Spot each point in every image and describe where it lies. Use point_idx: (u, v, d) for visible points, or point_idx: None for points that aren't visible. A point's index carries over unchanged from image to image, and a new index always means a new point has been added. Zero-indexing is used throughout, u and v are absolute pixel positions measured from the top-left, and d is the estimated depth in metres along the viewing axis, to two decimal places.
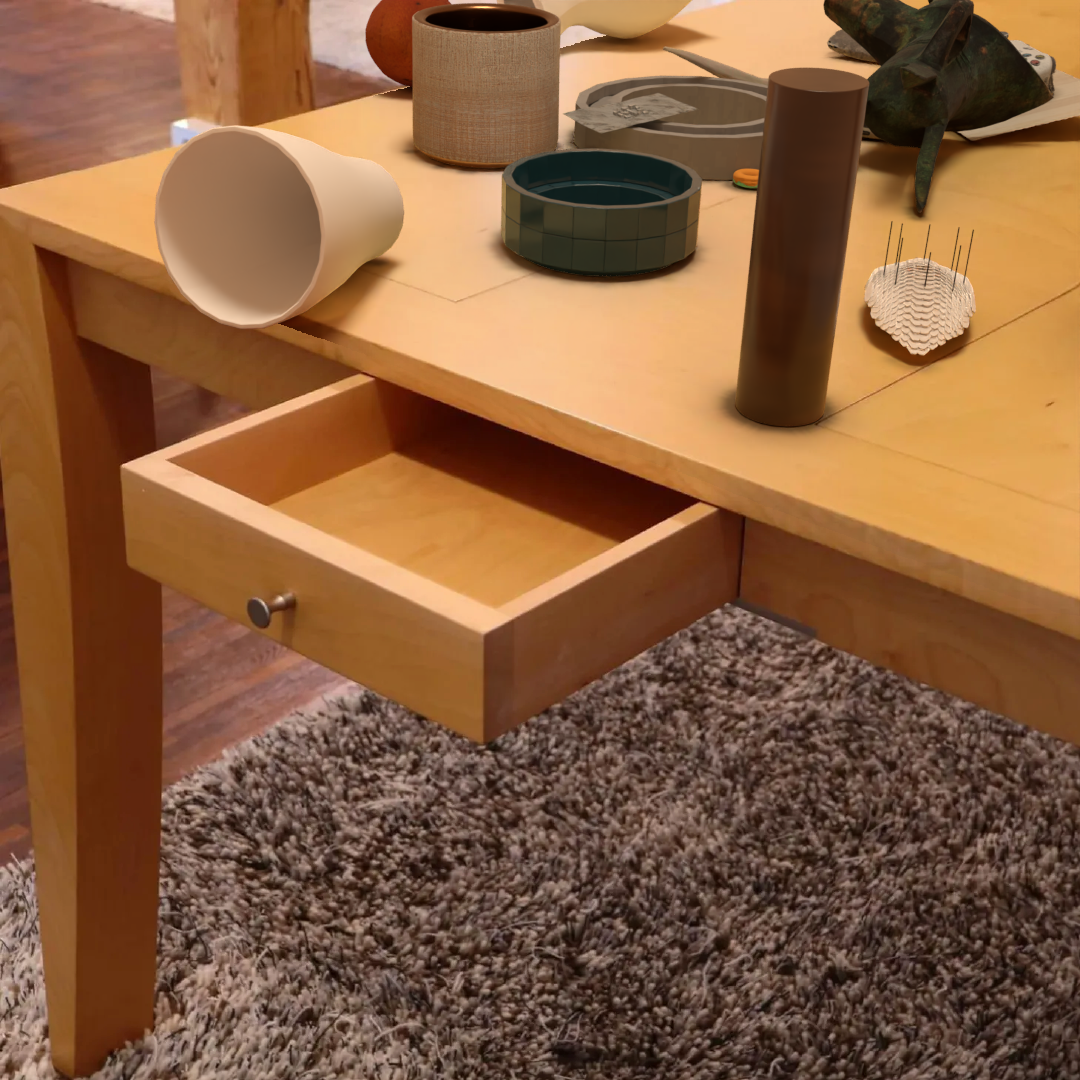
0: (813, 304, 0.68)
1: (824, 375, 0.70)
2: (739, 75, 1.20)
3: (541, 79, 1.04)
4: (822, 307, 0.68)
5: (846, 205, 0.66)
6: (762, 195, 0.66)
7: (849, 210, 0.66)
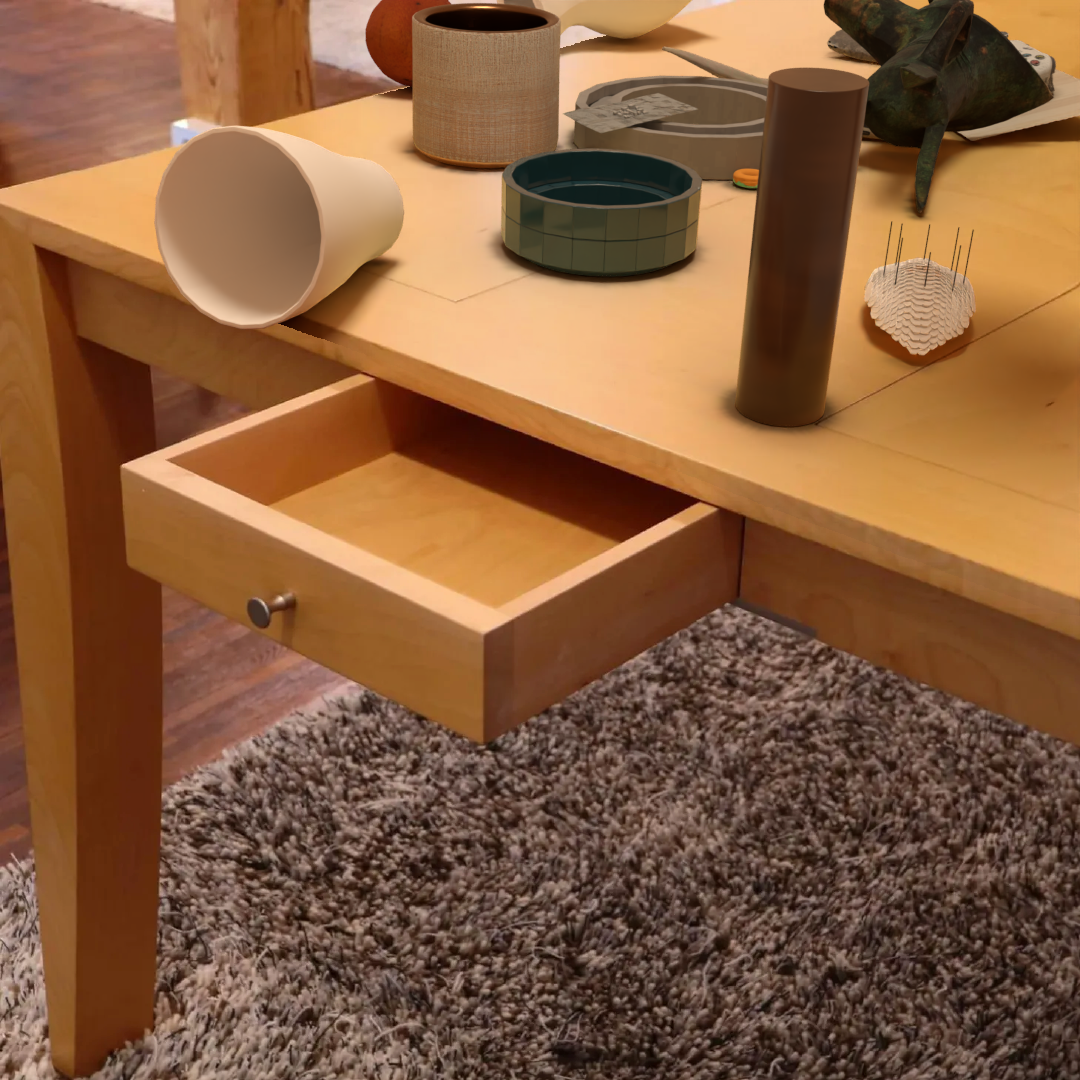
0: (813, 304, 0.68)
1: (824, 375, 0.70)
2: (738, 75, 1.20)
3: (541, 79, 1.04)
4: (822, 307, 0.68)
5: (846, 205, 0.66)
6: (762, 195, 0.66)
7: (849, 210, 0.66)
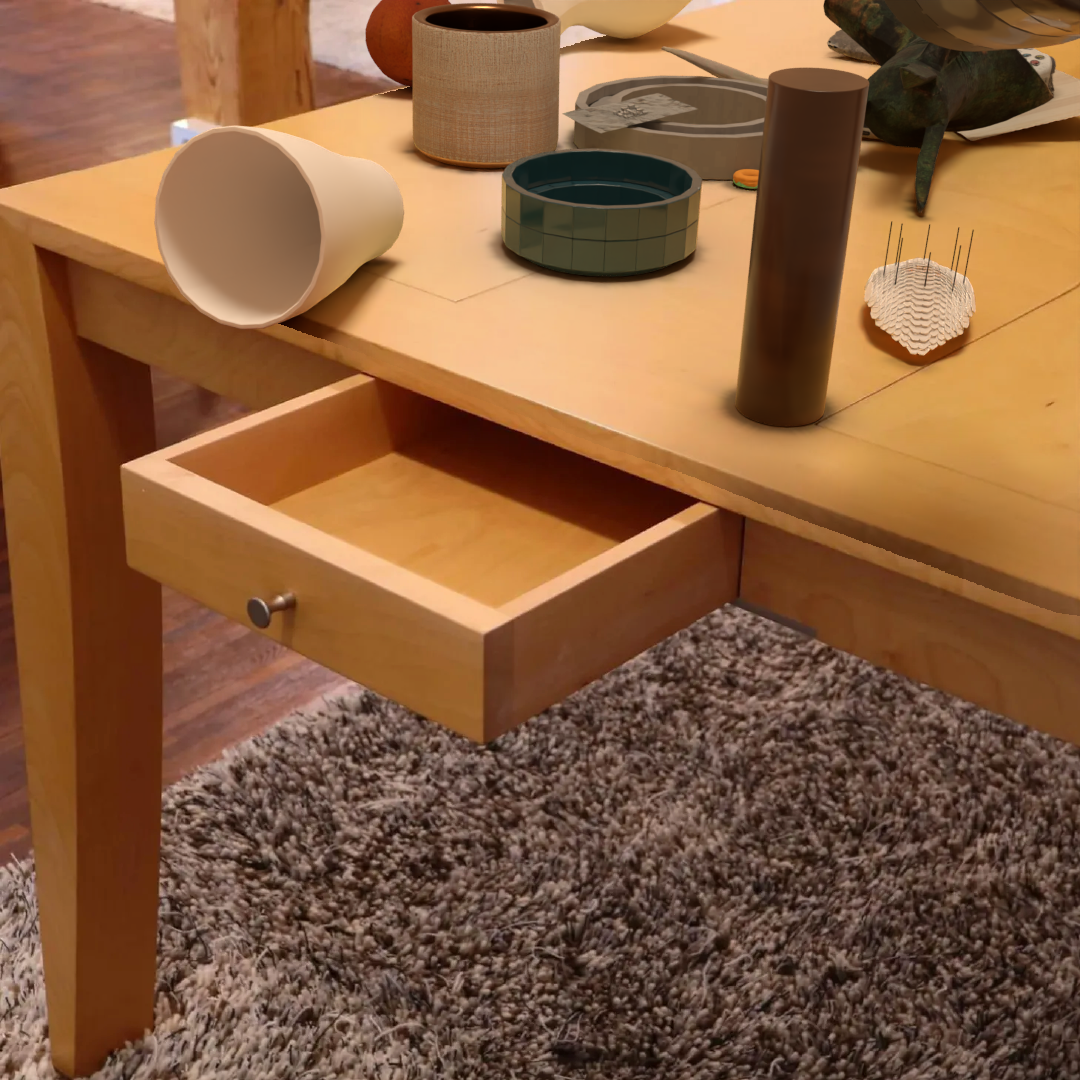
0: (813, 304, 0.68)
1: (824, 375, 0.70)
2: (738, 75, 1.20)
3: (541, 79, 1.04)
4: (822, 307, 0.68)
5: (846, 205, 0.66)
6: (762, 195, 0.66)
7: (849, 210, 0.66)
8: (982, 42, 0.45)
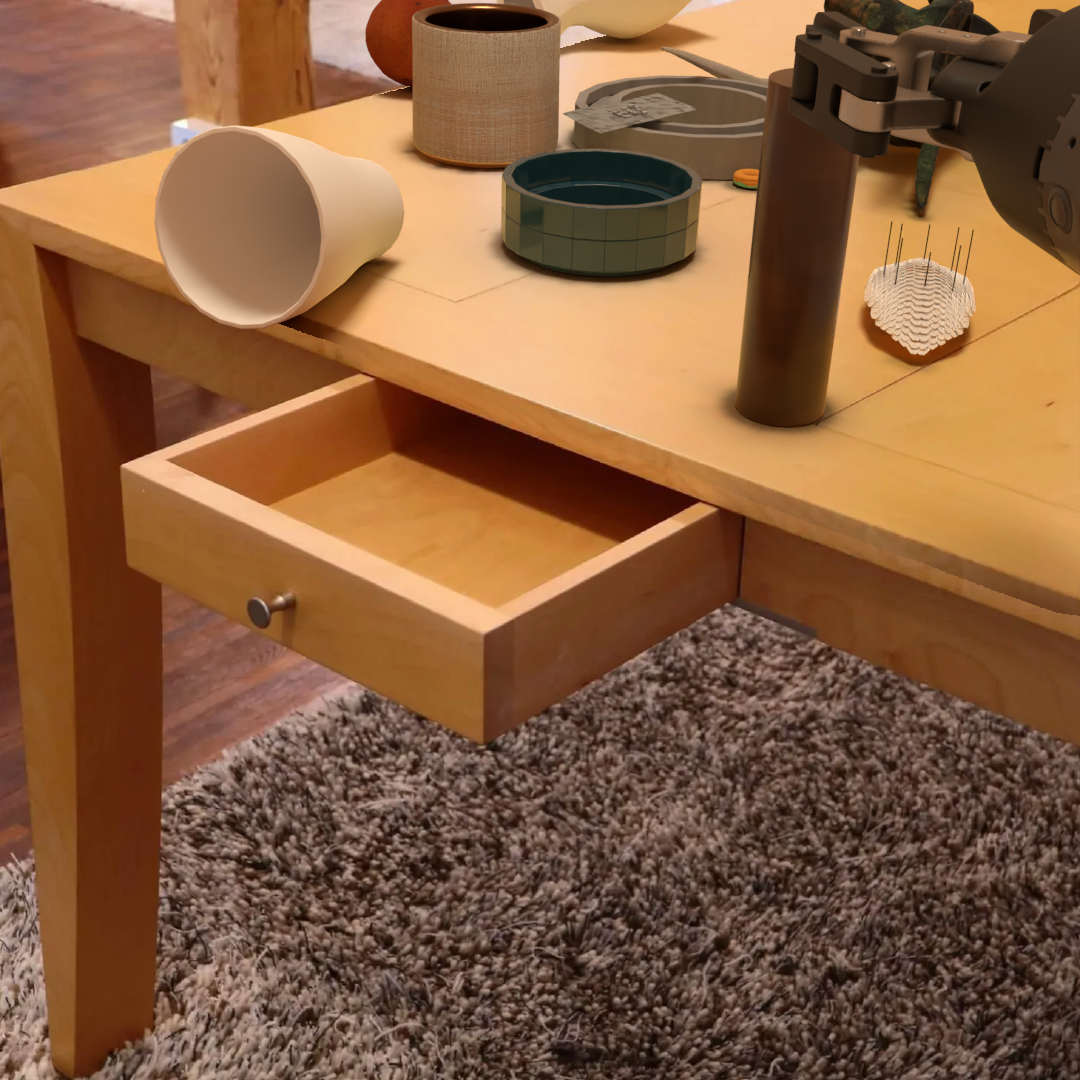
0: (813, 304, 0.68)
1: (824, 375, 0.70)
2: (737, 75, 1.20)
3: (541, 79, 1.04)
4: (822, 307, 0.68)
5: (846, 205, 0.66)
6: (762, 195, 0.66)
7: (849, 210, 0.66)
8: None
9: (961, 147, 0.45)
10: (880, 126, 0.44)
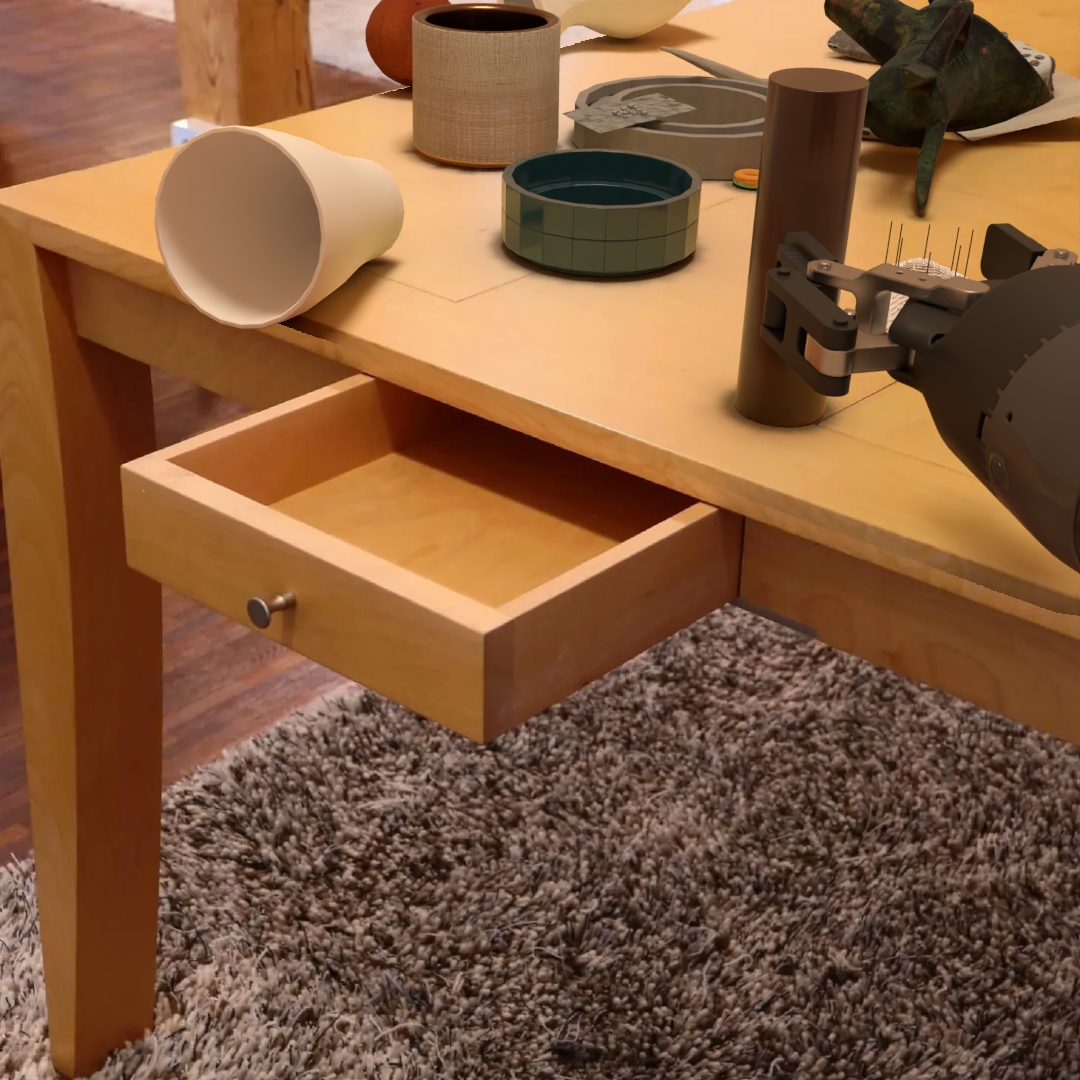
0: None
1: None
2: (737, 75, 1.20)
3: (541, 79, 1.04)
4: None
5: (846, 205, 0.66)
6: (762, 195, 0.66)
7: (849, 210, 0.66)
8: None
9: (915, 388, 0.49)
10: (841, 371, 0.49)
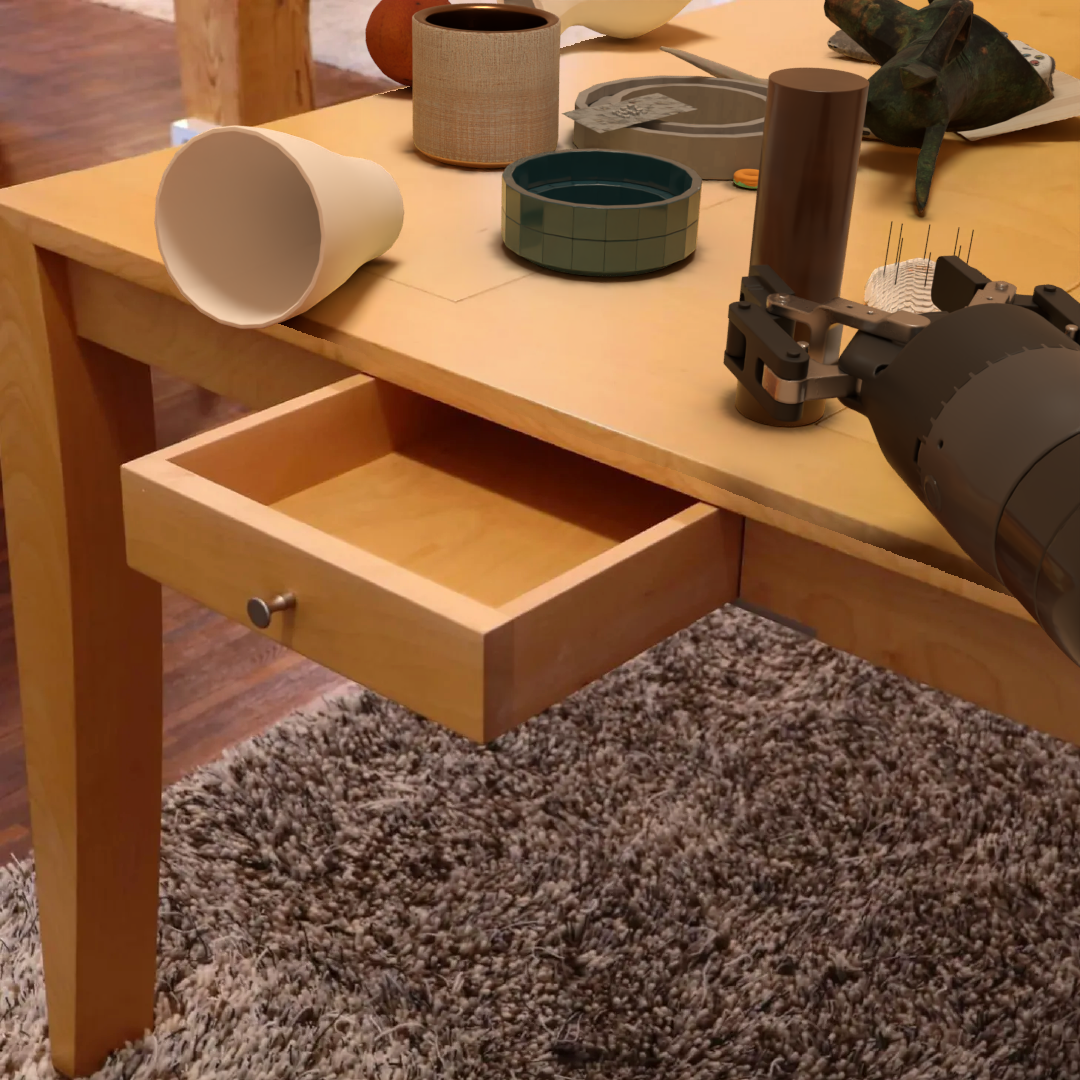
0: None
1: None
2: (736, 75, 1.20)
3: (541, 79, 1.04)
4: None
5: (846, 205, 0.66)
6: (762, 195, 0.66)
7: (849, 210, 0.66)
8: None
9: (862, 414, 0.54)
10: (794, 399, 0.54)
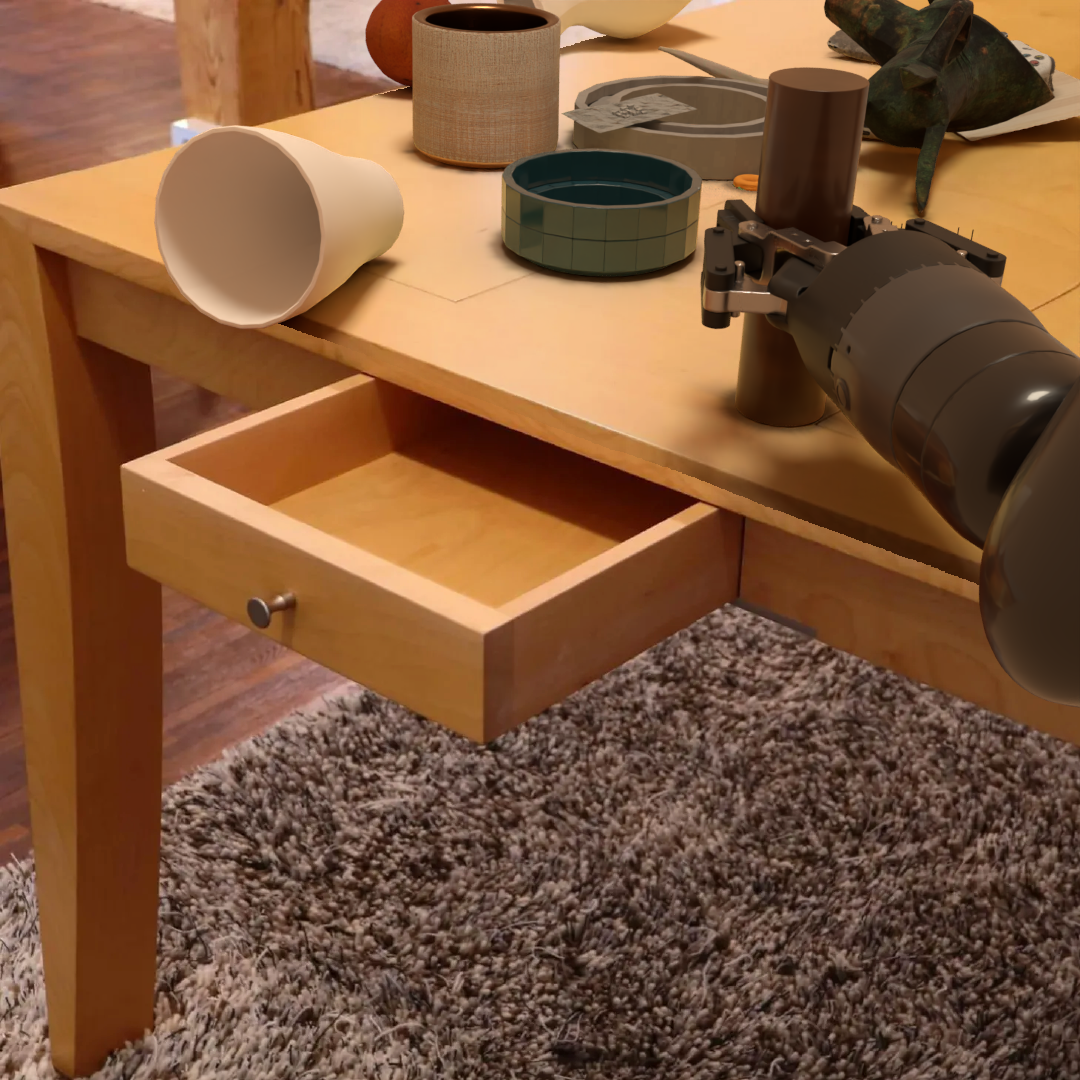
0: None
1: None
2: (736, 75, 1.20)
3: (541, 79, 1.04)
4: None
5: (846, 205, 0.66)
6: (762, 195, 0.66)
7: (849, 210, 0.66)
8: None
9: (788, 332, 0.61)
10: (717, 308, 0.61)
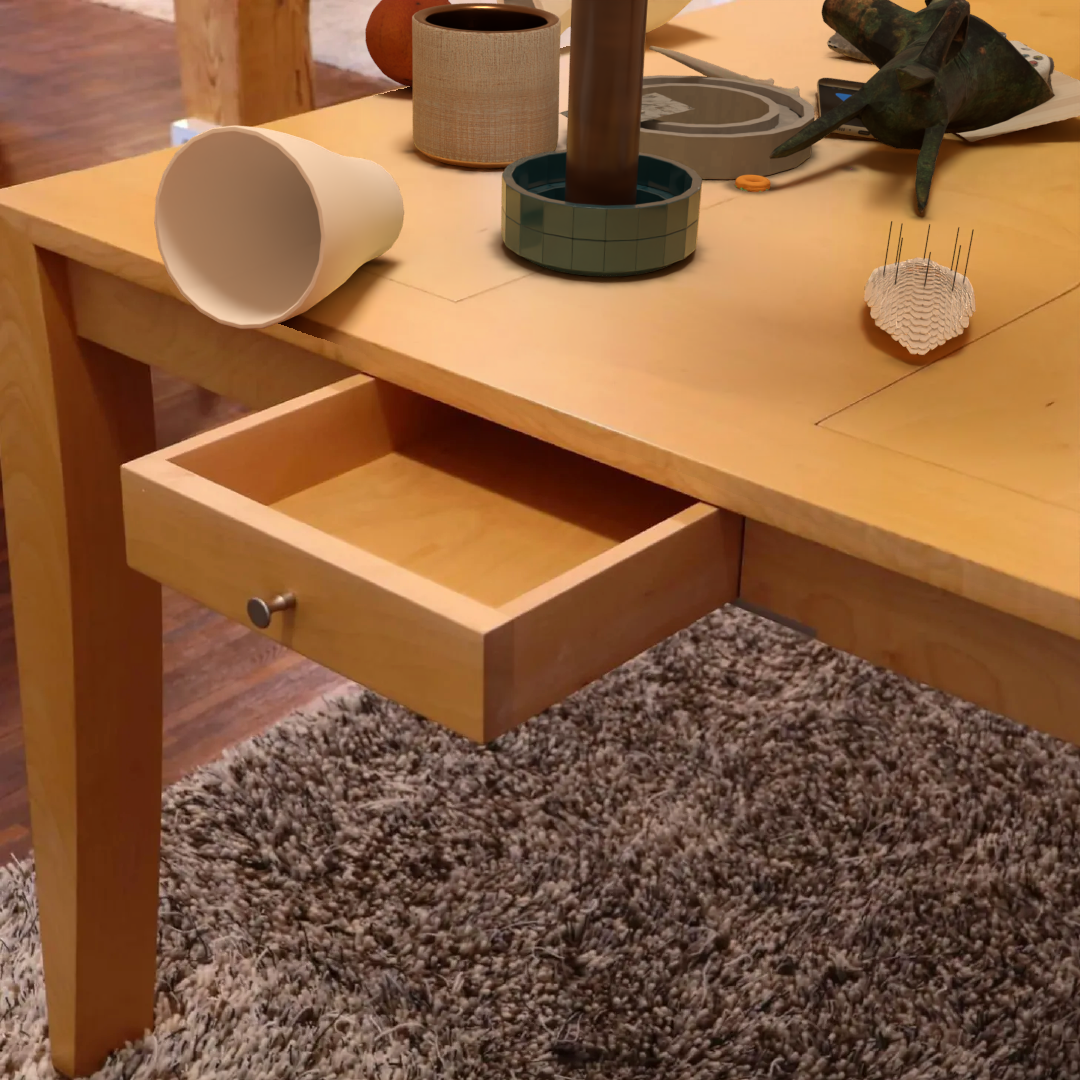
0: (614, 148, 0.87)
1: None
2: (729, 75, 1.20)
3: (541, 79, 1.04)
4: (622, 151, 0.87)
5: (636, 68, 0.85)
6: (572, 61, 0.85)
7: (639, 73, 0.85)
8: None
9: None
10: None
